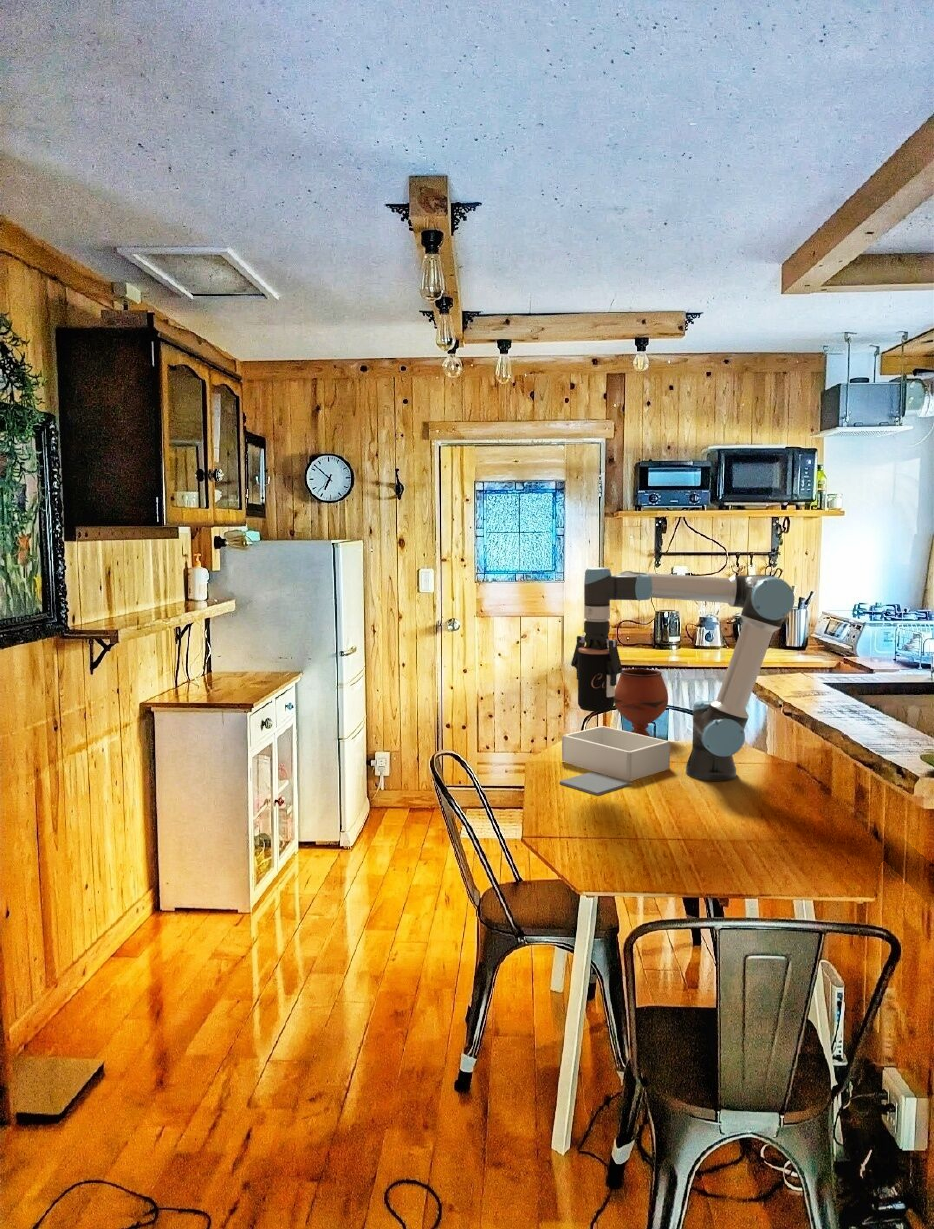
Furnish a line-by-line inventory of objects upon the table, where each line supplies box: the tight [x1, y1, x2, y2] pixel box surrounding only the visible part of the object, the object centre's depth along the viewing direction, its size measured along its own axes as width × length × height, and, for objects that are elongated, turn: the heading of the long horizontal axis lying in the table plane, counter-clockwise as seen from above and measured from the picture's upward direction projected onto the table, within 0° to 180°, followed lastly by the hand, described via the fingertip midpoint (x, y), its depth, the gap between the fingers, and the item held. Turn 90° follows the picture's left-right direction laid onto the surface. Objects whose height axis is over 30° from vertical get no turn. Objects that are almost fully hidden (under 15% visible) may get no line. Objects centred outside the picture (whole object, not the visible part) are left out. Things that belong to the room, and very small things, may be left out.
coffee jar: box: [577, 646, 615, 713], centre depth 261 cm, size 11×11×18 cm
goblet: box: [614, 668, 669, 737], centre depth 316 cm, size 19×19×25 cm
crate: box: [561, 725, 671, 782], centre depth 284 cm, size 28×20×9 cm
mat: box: [559, 771, 632, 796], centre depth 264 cm, size 15×15×1 cm
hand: (596, 693), depth 261 cm, fingers closed on coffee jar, 11 cm apart
